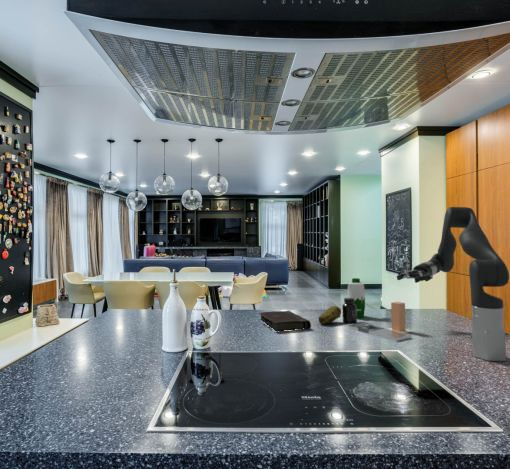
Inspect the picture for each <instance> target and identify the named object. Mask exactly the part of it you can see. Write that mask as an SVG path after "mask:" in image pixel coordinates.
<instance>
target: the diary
mask: <svg viewBox="0 0 510 469" xmlns="http://www.w3.org/2000/svg"><path fill="white" fill-rule="evenodd" d="M258 315H260V320H262V321H263V322H265V323H266V324H267V325H269V326H270V327H271V328H273V329H274V330H275V331H284V330H295V329H302V330H304V329H303V328H306V329H308V328H309V329H308V330H311V327H312V324H311V322H310V320H309V319H307V318H304V317H303V316H300V315H298V314H296V313H294V312H292V311H291V310H281V311H279V310H278V311H263V312H258Z"/></svg>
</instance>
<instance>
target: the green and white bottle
mask: <svg viewBox="0 0 510 469" xmlns="http://www.w3.org/2000/svg"><path fill="white" fill-rule="evenodd" d="M365 289H366V288H365V284H364V282H361V279H360V278H356V277H355V278H354V277H353V278H351V281H349V282H348V284H347V298H354V304H356V307H357V319H364V317H365V309H366V292H365Z"/></svg>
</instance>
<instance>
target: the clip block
mask: <svg viewBox="0 0 510 469" xmlns="http://www.w3.org/2000/svg"><path fill="white" fill-rule="evenodd" d="M390 305H391V307H390V308H391V313H390V314H391V328H392V330H394V331H398V332H401V331H405V330H406V329H407V328H406V302H402V301H401V302H400V301H394V302H391V303H390Z"/></svg>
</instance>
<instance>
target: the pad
mask: <svg viewBox="0 0 510 469" xmlns="http://www.w3.org/2000/svg"><path fill="white" fill-rule="evenodd" d="M387 329H389V330H392V327H389V328H387ZM393 331H394V330H393ZM397 332H398V331H397ZM411 332H414V330H412V329H408V328H406V330H405V331H401V333H405V334H408V333H411Z"/></svg>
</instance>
